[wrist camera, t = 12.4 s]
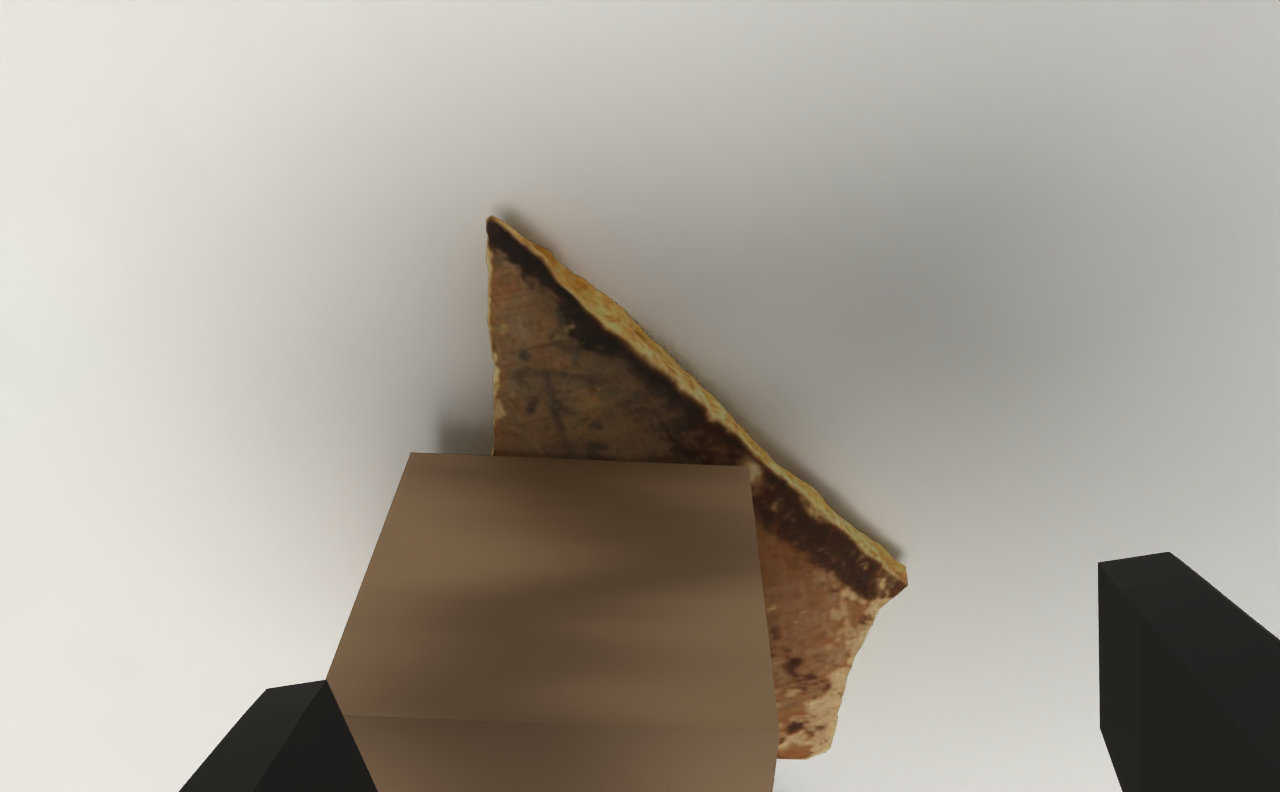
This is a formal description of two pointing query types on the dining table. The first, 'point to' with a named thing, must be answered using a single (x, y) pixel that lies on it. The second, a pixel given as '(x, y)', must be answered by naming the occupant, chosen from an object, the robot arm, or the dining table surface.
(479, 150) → the dining table surface
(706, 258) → the dining table surface
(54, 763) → the dining table surface
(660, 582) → the walnut block
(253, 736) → the robot arm
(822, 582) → the shard
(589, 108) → the dining table surface
